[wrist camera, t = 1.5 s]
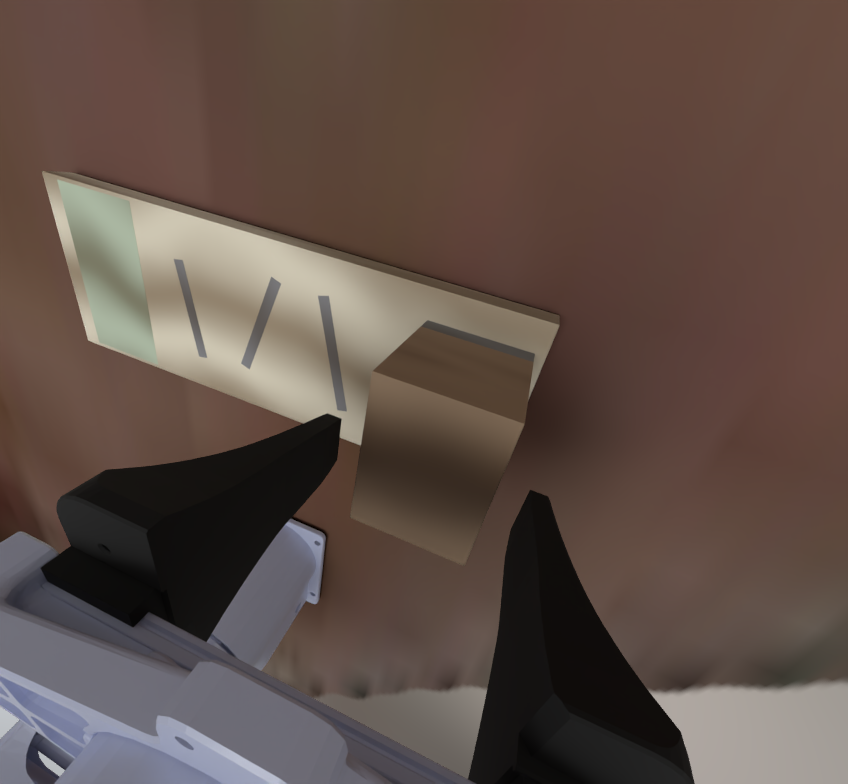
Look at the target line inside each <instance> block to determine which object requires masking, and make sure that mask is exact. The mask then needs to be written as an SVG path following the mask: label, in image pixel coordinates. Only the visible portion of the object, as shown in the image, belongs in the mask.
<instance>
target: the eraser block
mask: <svg viewBox="0 0 848 784" xmlns="http://www.w3.org/2000/svg"><path fill="white" fill-rule="evenodd" d="M534 357H535V354H534V353H531V352H528V351H525V350H521V349H518V348H515V347H512V346H509V345H506V344H502V343H499V342H496V341H493V340H490V339H486V338H483V337H480V336H477V335H474V334H470V333H467V332H464V331H461V330H458V329H455V328H451V327H448V326H445V325H442V324H439V323H435V322H432V321H429V320H427V321H426V322H425V323H424V324H423V325H422V326H421V327H419V328H418V329H417V330H416V331H415V332H414V333H413V334H412V335H411V336H410V337H409V338H408V339H406V340H405V341H404V342H403V343H402V344H401V345H400V346H399V347H398V348H397V349H396V350H395V351H394V352H392V353H391V354H390V355H389V356H388V357H387V358H386V359H385V360H384V361H383V362H382V363H381V364H379V365H378V366H377V367H376V368H375V369H374V370H373V371H372V377H371V383H370V390H369V396H368V403H367V409H366V416H365V422H364V429H363V435H362V442H361V448H360V455H359V461H358V468H357V474H356V481H355V487H354V494H353V500H352V507H351V513H350V518H352V519H355V520H357V521H359V522H362V523H364V524H366V525H369V526H371V527H374V528H376V529H378V530H381V531H383V532H385V533H388V534H390V535H392V536H395V537H397V538H399V539H402V540H404V541H407V542H409V543H411V544H414V545H416V546H418V547H421V548H423V549H425V550H428V551H430V552H433V553H435V554H437V555H440V556H442V557H444V558H447V559H449V560H451V561H454V562H456V563H459V564H461V565H463V566H464V565H465V563H466V561H467V558H468V556H469V554H470V551H471V549H472V547H473V544H474V542H475V539H476V537H477V535H478V532H479V530H480V528H481V525H482V523H483V521H484V518H485V516H486V514H487V511H488V509H489V507H490V504H491V502H492V500H493V497H494V495H495V493H496V490H497V488H498V485H499V483H500V481H501V478H502V476H503V474H504V471H505V469H506V467H507V464H508V462H509V460H510V457H511V455H512V453H513V450H514V448H515V446H516V443H517V441H518V438H519V436H520V434H521V431H522V429H523V427H524V424H525V418H526V412H527V405H528V398H529V391H530V384H531V377H532V370H533V363H534Z"/></svg>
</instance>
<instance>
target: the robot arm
mask: <svg viewBox="0 0 848 784" xmlns="http://www.w3.org/2000/svg"><path fill="white" fill-rule="evenodd" d="M341 420H342V419H341V418H338V417H336V416H333V415H330V414H328V413H327V414H324V415H322V416H319V417H317V418H315V419H313V420H310V421H308V422H306V423H303V424H301V425H299V426H297V427H294V428H292V429H289V430H287V431H285V432H282V433H280V434H277V435H275V436H272V437H269V438H266V439H264V440H261V441H258V442H256V443H253V444H250V445H247V446H244V447H241V448H237V449H234V450H230V451H227V452H223V453H219V454H215V455H210V456H206V457H201V458H196V459H192V460H187V461H181V462H175V463H169V464H161V465H154V466H146V467H135V468H123V469H111V470H105V471H103V472H101V473H100V474H98V475H96V476H95V477H93V478H91V479H90V480H88V481H86V482H85V483H83V484H81V485H80V486H78V487H76V488H75V489H73V490H71V491H70V492H68V493H66V494H65V495H63V496H61V497H60V499H59V500H58V502H57V513H58V517H59V519H60V522H61V524H62V526H63V528H64V531H65V533H66V535H67V538H68V540H69V542H70V544H71V546H70V547H69V548H68V549H66V550H65V551H63V552H62V553H61V554H59V553H58V552H57V551H56V550H55V549H54V548H53V547H51V546H50V545H48V544H46V543H44V542H42V541H40V540H38V539H36V538H34V537H32V536H30V535H29V534H27V533H25V532H17V533H16V534H14V535H12V536H11V537H9V538H8V539H6V540H4V541H3V542H1V543H0V706H1V707H2V708H4V709H5V710H6V711H8V712H9V713H11V714H12V715H14V716H15V717H17V718H18V719H19V721H18V722H17V723H16V724H15V725H14V726H13V727H12V728H11V729H10V730H9V731H8V732H7V733H6V734H5V735H4V736H3V737H2V738H1V739H0V784H694V779H693V776H692V770H691V766H690V762H689V758H688V754H687V751H686V748H685V745H684V741H683V738H682V735H681V732H680V730H679V729H678V728H677V727H676V726H675V724H674V723H673V722H672V720H671V719H670V718H669V717H668V715H667V714H666V713H665V711H664V710H663V709H662V708H661V707H660V705H659V704H658V703H657V701H656V700H655V699H654V698H653V696H652V695H651V694H650V693H649V691H648V690H647V689H646V687H645V686H644V685H643V683H642V682H641V680H640V679H639V678H638V676H637V675H636V673H635V672H634V671H633V669H632V668H631V667H630V665H629V664H628V662H627V661H626V659H625V658H624V656H623V655H622V653H621V652H620V650H619V649H618V647H617V646H616V644H615V643H614V641H613V639H612V638H611V636H610V635H609V633H608V632H607V630H606V628H605V627H604V625H603V624H602V622H601V620H600V618H599V617H598V615H597V613H596V612H595V610H594V608H593V606H592V604H591V602H590V600H589V598H588V597H587V595H586V593H585V591H584V589H583V586H582V584H581V582H580V580H579V578H578V576H577V574H576V571H575V569H574V567H573V565H572V562H571V560H570V557H569V555H568V552H567V550H566V547H565V545H564V542H563V539H562V537H561V534H560V531H559V528H558V525H557V522H556V519H555V516H554V513H553V510H552V506H551V503H550V500H549V498H548V496H545V495H542V494H540V493H537V492H534V491H532V490H530V491H529V493H528V496H527V498H526V500H525V502H524V504H523V506H522V508H521V510H520V512H519V514H518V516H517V518H516V520H515V522H514V524H513V526H512V528H511V531H510V536H509V541H508V545H507V550H506V555H505V564H504V575H503V586H502V598H501V610H500V621H499V629H498V636H497V642H496V647H495V653H494V658H493V663H492V669H491V674H490V679H489V684H488V689H487V694H486V699H485V704H484V709H483V714H482V719H481V723H480V728H479V733H478V737H477V742H476V746H475V751H474V755H473V760H472V764H471V769H470V773H469V778H468V779H466V778H464V777H462V776H460V775H459V774H457V773H455V772H453V771H451V770H449V769H447V768H445V767H443V766H441V765H440V764H438V763H435V762H434V761H432V760H430V759H428V758H426V757H424V756H422V755H420V754H419V753H416V752H415V751H413V750H411V749H409V748H407V747H405V746H403V745H401V744H400V743H398V742H395V741H394V740H392V739H390V738H388V737H386V736H384V735H382V734H380V733H379V732H377V731H375V730H373V729H371V728H369V727H367V726H365V725H363V724H361V723H360V722H358V721H356V720H354V719H352V718H350V717H348V716H346V715H344V714H342V713H340V712H338V711H337V710H335V709H333V708H331V707H329V706H327V705H325V704H323V703H321V702H319V701H318V700H316V699H314V698H312V697H310V696H308V695H306V694H304V693H302V692H300V691H299V690H297V689H295V688H293V687H291V686H289V685H287V684H285V683H283V682H281V681H279V680H278V679H276V678H274V677H272V676H270V675H268V674H266V673H264V672H262V671H261V670H262V669H263V668H264V666H265V665H266V664H267V662H268V661H269V659H270V657H271V656H272V654H273V653H274V651H275V649H276V648H277V646H278V645H279V643H280V641H281V640H282V638H283V637H284V635H285V633H286V632H287V630H288V629H289V627H290V626H291V624H292V622H293V621H294V619H295V618H296V616H297V614H298V613H299V611H300V610H301V608H302V606H303V605H304V603H305V602H306V601H308V602H310V603H312V604H317V602H318V601H319V596H320V587H321V578H322V569H323V560H324V550H325V541H326V536H325V535H324V533H322V532H321V531H318V530H316V529H314V528H311V527H309V526H307V525H304V524H302V523H300V522H298V521H295V520H293V519H291V517H292V516H293V515H294V514H295V513H296V512H297V511H298V509H299V508H300V507H301V506H302V505H303V504H304V503H305V501H306V500H307V499H308V498H309V497H310V496H311V495H312V493H313V492H314V491H315V490H316V489H317V488H318V486H319V485H320V484H321V483H322V482H323V480H324V479H325V477H326V476H327V474H328V473H329V472H330V470H331V468H332V467H333V465H334V464H335V462H336V461H337V456H338V447H339V438H340V429H341ZM38 751H40V752H41V753H42V754H44V755H45V756H47V757H48V758H49V759H51V760H52V761H54V762H55V763H56V764H57V765H59V766H60V767H62V768H63V769H64V770H65V771H64V773H63V774H62V775H61V776H60V777H59V776H58V775H56V774H55V773H54V772H52V771H51V770H50V769H48V768H47V767H46V766H45V765H44V763H43V762H42V761H41V759H40V758H39V754H38Z"/></svg>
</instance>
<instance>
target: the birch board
mask: <svg viewBox="0 0 848 784" xmlns="http://www.w3.org/2000/svg"><path fill="white" fill-rule="evenodd" d="M42 174H43V177H44V181H45V185H46V188H47V192H48V195H49V199H50V203H51V206H52V210H53V214H54V217H55V221H56V224H57V228H58V232H59V235H60V239H61V243H62V246H63V250H64V254H65V257H66V261H67V264H68V268H69V272H70V275H71V279H72V283H73V286H74V290H75V294H76V297H77V301H78V304H79V308H80V312H81V315H82V319H83V323H84V326H85V330H86V334H87V337H88V341H91V342H94V343H96V344H99V345H101V346H104V347H107V348H109V349H112V350H114V351H117V352H120V353H122V354H125V355H127V356H130V357H133V358H135V359H138V360H140V361H143V362H146V363H148V364H151V365H153V366H156V367H158V368H161V369H164V370H166V371H169V372H171V373H174V374H177V375H179V376H182V377H184V378H187V379H190V380H192V381H195V382H197V383H200V384H203V385H205V386H208V387H210V388H213V389H215V390H218V391H221V392H223V393H226V394H228V395H231V396H234V397H236V398H239V399H241V400H244V401H247V402H249V403H252V404H254V405H257V406H260V407H262V408H265V409H267V410H270V411H273V412H275V413H278V414H280V415H283V416H285V417H288V418H291V419H293V420H296V421H298V422H301V423H306V422H308V421H310V420H313V419H315V418H317V417H319V416H322V415H324V414H327V413H328V414H330V415H333V416H336V417H338V418H341V419H342V420H341V429H340V438H343V439H345V440H348V441H350V442H353V443H355V444H358V445H361V442H362V435H363V429H364V422H365V416H366V409H367V403H368V396H369V390H370V383H371V377H372V371H373V370H374V369H375V368H376V367H377V366H378V365H379V364H381V363H382V362H383V361H384V360H385V359H386V358H387V357H388V356H389V355H390V354H391V353H392V352H394V351H395V350H396V349H397V348H398V347H399V346H400V345H401V344H402V343H403V342H404V341H405V340H406V339H408V338H409V337H410V336H411V335H412V334H413V333H414V332H415V331H416V330H417V329H418V328H419V327H421V326H422V325H423V324H424V323H425V322H426V321H427V320H429V321H432V322H435V323H439V324H442V325H445V326H448V327H451V328H455V329H458V330H461V331H464V332H467V333H470V334H474V335H477V336H480V337H483V338H486V339H490V340H493V341H496V342H499V343H502V344H506V345H509V346H512V347H515V348H518V349H521V350H525V351H528V352H531V353H534V354H535V357H534V363H533V370H532V377H531V384H530V391H529V398H530V395H531V393H532V390H533V388H534V386H535V383H536V381H537V378H538V376H539V374H540V371H541V369H542V366H543V364H544V362H545V359H546V357H547V354H548V352H549V350H550V347H551V345H552V342H553V340H554V337H555V335H556V333H557V330H558V328H559V325H560V316H559V315H556V314H553V313H549V312H546V311H543V310H539V309H536V308H532V307H529V306H526V305H522V304H519V303H515V302H512V301H509V300H505V299H502V298H498V297H495V296H491V295H488V294H485V293H481V292H478V291H474V290H471V289H468V288H464V287H461V286H457V285H454V284H451V283H447V282H444V281H440V280H437V279H434V278H430V277H427V276H423V275H420V274H416V273H413V272H410V271H406V270H403V269H399V268H396V267H393V266H389V265H386V264H382V263H379V262H376V261H372V260H369V259H365V258H362V257H359V256H355V255H352V254H348V253H345V252H341V251H338V250H335V249H331V248H328V247H324V246H321V245H318V244H314V243H311V242H307V241H304V240H301V239H297V238H294V237H290V236H287V235H284V234H280V233H277V232H273V231H270V230H266V229H263V228H260V227H256V226H253V225H249V224H246V223H243V222H239V221H236V220H232V219H229V218H226V217H222V216H219V215H215V214H212V213H209V212H205V211H202V210H198V209H195V208H191V207H188V206H185V205H181V204H178V203H174V202H171V201H168V200H164V199H161V198H157V197H154V196H151V195H147V194H144V193H140V192H137V191H134V190H130V189H127V188H123V187H120V186H116V185H113V184H110V183H106V182H103V181H99V180H96V179H93V178H89V177H86V176H82V175H79V174H76V173H71V172H53V171H42ZM529 398H528V400H529Z"/></svg>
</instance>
